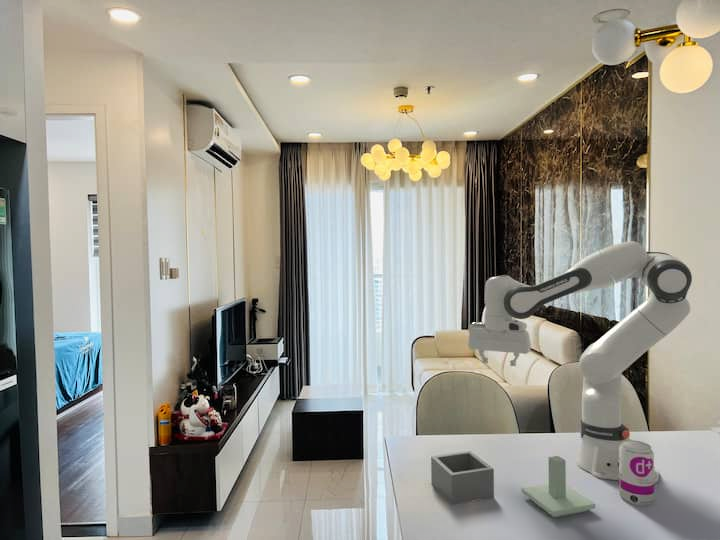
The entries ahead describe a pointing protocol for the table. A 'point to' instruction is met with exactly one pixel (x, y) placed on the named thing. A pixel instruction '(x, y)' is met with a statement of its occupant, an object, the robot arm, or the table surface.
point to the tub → (462, 477)
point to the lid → (558, 492)
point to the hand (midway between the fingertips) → (498, 364)
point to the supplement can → (636, 472)
